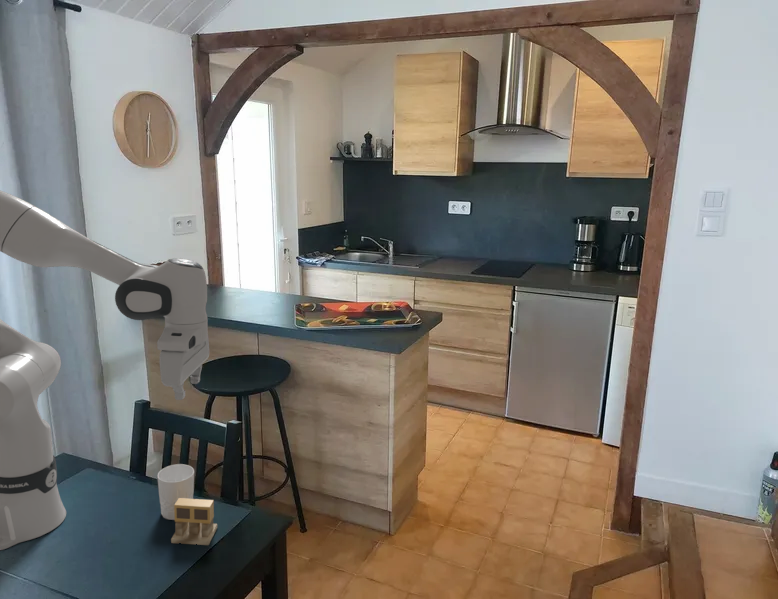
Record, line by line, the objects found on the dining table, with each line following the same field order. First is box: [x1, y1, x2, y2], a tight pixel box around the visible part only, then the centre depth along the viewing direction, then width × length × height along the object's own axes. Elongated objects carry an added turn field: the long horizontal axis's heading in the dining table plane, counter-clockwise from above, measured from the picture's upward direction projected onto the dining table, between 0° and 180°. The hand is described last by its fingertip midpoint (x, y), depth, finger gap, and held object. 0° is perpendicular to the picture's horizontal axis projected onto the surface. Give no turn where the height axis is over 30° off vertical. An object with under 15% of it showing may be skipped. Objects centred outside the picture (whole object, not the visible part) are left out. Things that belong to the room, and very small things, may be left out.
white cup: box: [156, 463, 195, 521], centre depth 127 cm, size 8×8×10 cm
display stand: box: [170, 518, 218, 546], centre depth 119 cm, size 8×6×4 cm
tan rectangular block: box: [174, 498, 215, 524], centre depth 119 cm, size 8×3×4 cm, turn 89°
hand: (188, 390), depth 124 cm, fingers open, 8 cm apart
